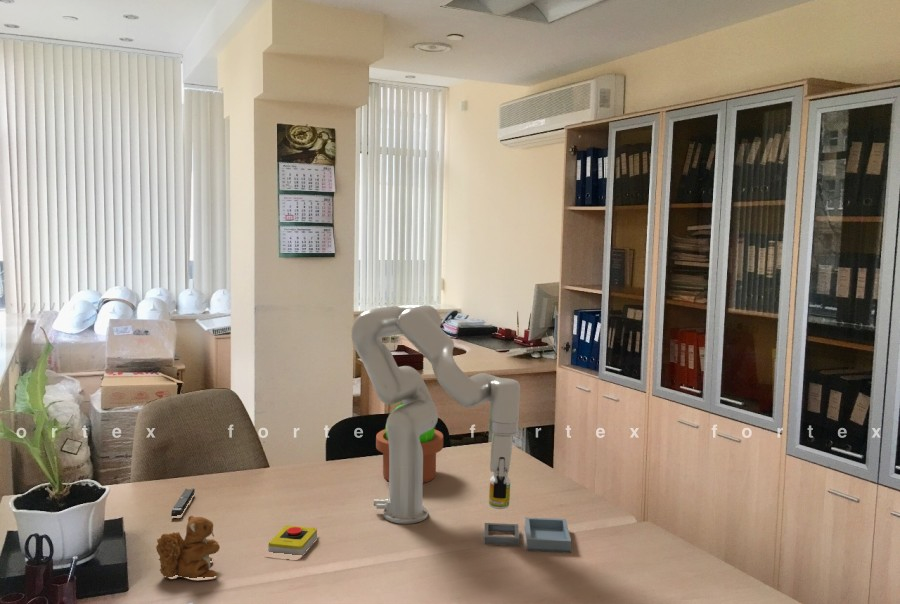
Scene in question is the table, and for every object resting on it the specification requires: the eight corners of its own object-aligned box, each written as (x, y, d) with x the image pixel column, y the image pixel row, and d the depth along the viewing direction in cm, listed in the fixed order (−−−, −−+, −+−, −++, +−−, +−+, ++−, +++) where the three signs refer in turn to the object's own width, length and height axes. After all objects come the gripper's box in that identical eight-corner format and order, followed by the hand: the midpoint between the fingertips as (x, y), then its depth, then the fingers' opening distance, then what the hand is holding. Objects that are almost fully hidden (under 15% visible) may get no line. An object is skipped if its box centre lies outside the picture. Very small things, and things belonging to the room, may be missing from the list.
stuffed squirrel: (219, 580, 164) (219, 524, 163) (153, 588, 160) (152, 531, 159) (220, 560, 173) (219, 508, 172) (157, 568, 169) (156, 514, 168)
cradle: (483, 544, 185) (484, 536, 185) (484, 529, 194) (484, 522, 194) (518, 545, 184) (519, 538, 184) (517, 531, 193) (518, 524, 193)
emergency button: (320, 521, 188) (298, 545, 174) (320, 537, 189) (298, 563, 174) (287, 518, 190) (262, 542, 175) (287, 534, 190) (262, 559, 176)
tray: (527, 550, 182) (527, 539, 181) (525, 527, 196) (525, 517, 195) (570, 552, 181) (571, 541, 181) (565, 529, 195) (565, 519, 195)
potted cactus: (441, 488, 225) (443, 410, 222) (372, 486, 225) (372, 408, 222) (443, 465, 247) (444, 394, 244) (379, 464, 247) (380, 392, 244)
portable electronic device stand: (180, 520, 197) (180, 510, 197) (171, 520, 197) (170, 510, 197) (195, 496, 215) (195, 486, 215) (186, 496, 215) (186, 487, 214)
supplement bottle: (507, 510, 186) (509, 474, 184) (487, 508, 187) (489, 472, 185) (510, 502, 191) (512, 467, 190) (490, 500, 192) (492, 465, 191)
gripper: (489, 416, 195) (485, 480, 197) (488, 435, 178) (484, 505, 180) (516, 418, 194) (512, 482, 197) (518, 437, 178) (514, 507, 180)
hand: (499, 492), depth 188 cm, fingers closed on supplement bottle, 5 cm apart
